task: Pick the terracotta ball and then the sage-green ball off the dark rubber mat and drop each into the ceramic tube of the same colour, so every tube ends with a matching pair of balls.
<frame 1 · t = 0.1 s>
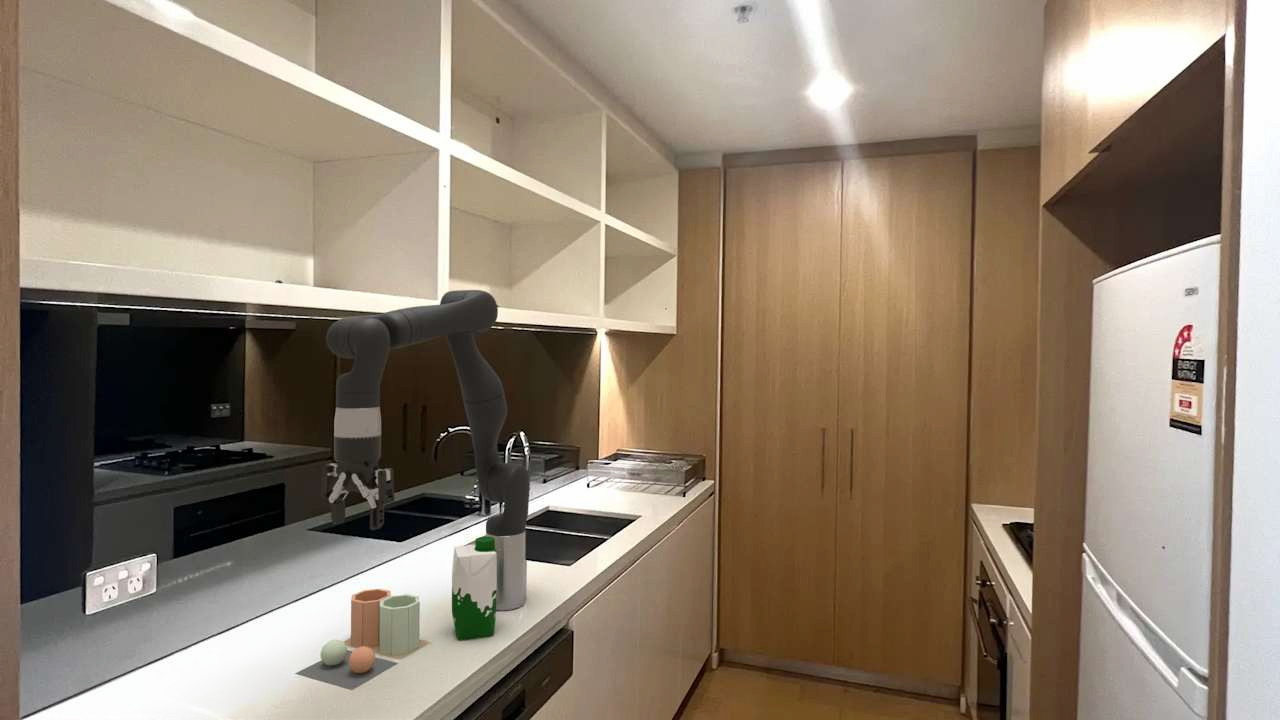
hand: (357, 526, 115), 29 cm above the countertop, tool pointing down, fingers open, 8 cm apart
mat: (347, 671, 123), on the countertop
ball rust: (361, 672, 121), point 1 cm above the countertop, touching mat
tubes: (384, 645, 133), on the countertop
ball sage: (333, 664, 124), point 1 cm above the countertop, touching mat
milk carton: (473, 635, 139), on the countertop
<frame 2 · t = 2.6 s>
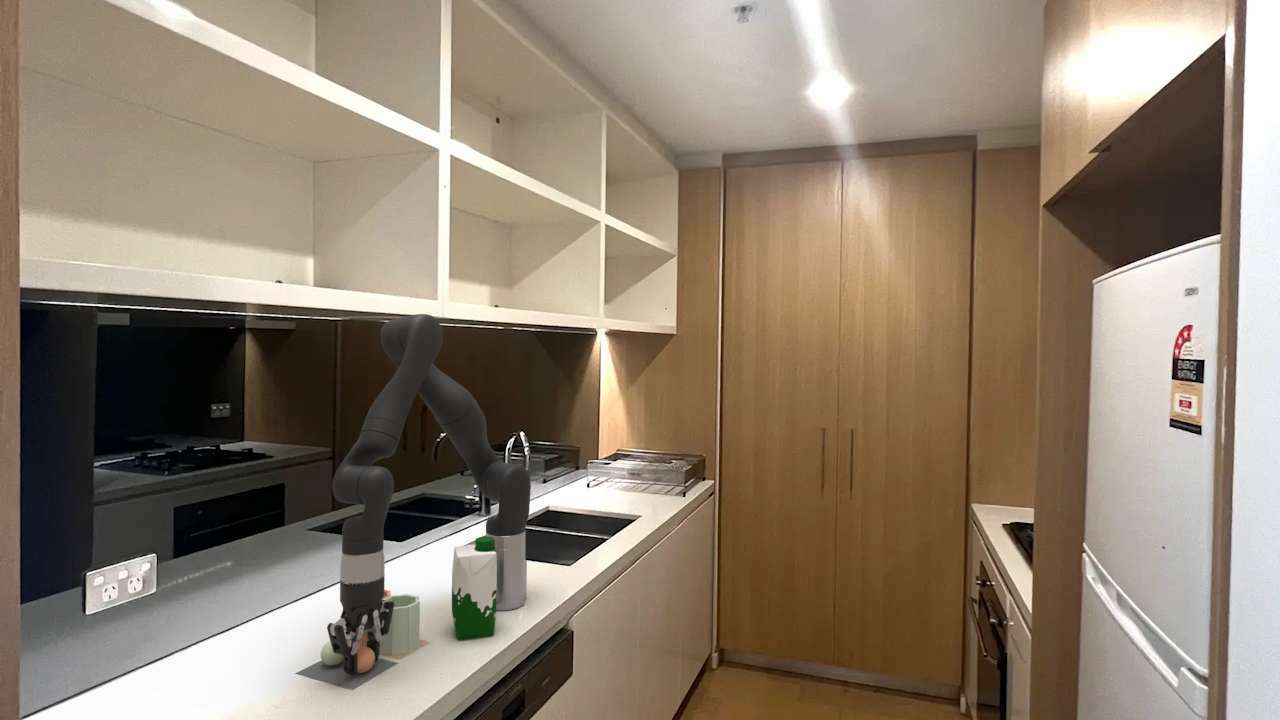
hand: (361, 666, 121), 2 cm above the countertop, tool pointing down, fingers closed on ball rust, 4 cm apart
ball rust: (361, 672, 121), point 1 cm above the countertop, touching gripper, mat
everything else where it was.
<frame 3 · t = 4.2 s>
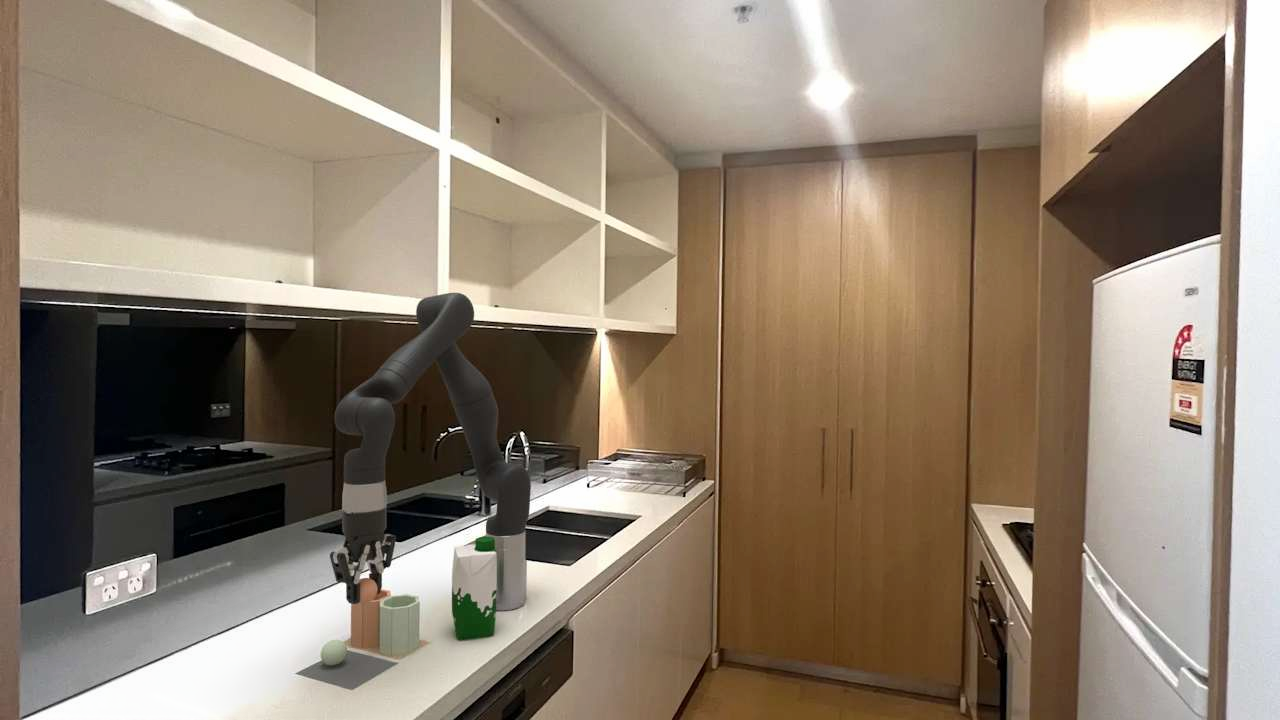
hand: (364, 597, 122), 14 cm above the countertop, tool pointing down, fingers closed on ball rust, 4 cm apart
ball rust: (364, 602, 122), point 13 cm above the countertop, touching gripper
everything else where it was.
when the fingers open (10 cm above the countertop, at t = 5.9 s): ball rust drops 3 cm and tips over, resting on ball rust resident, tubes.
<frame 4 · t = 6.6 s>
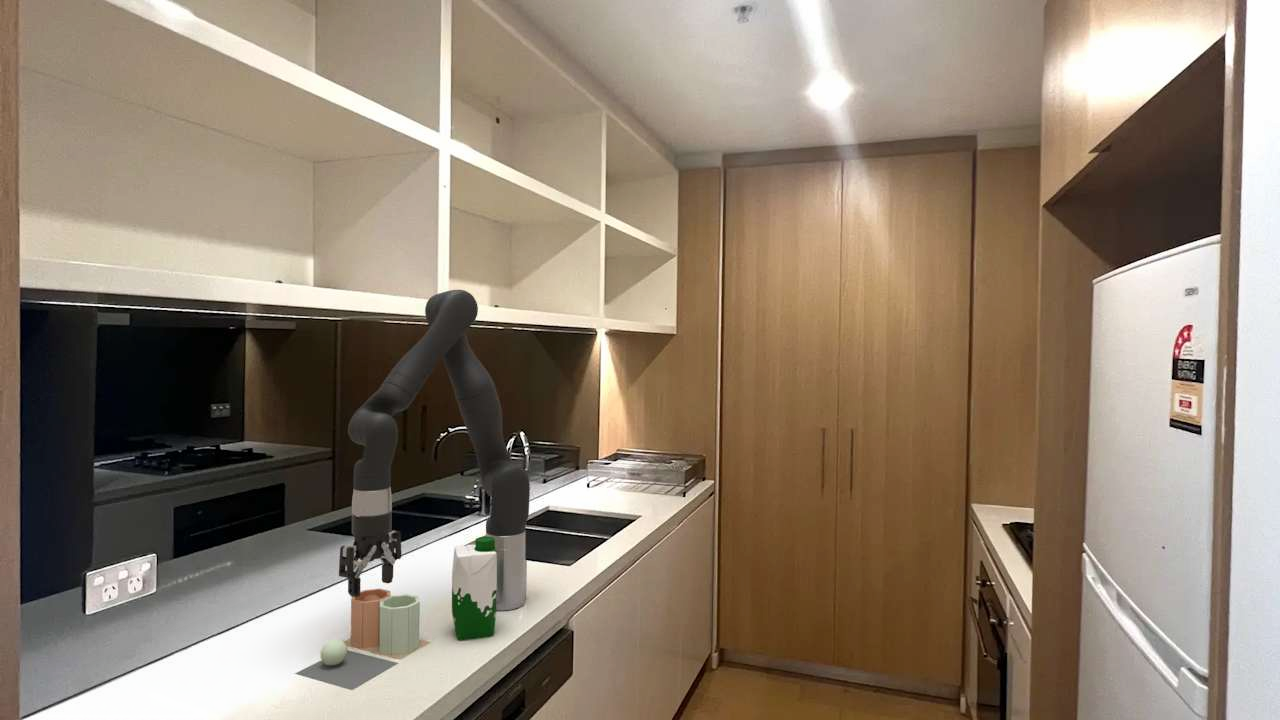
hand: (371, 589, 135), 11 cm above the countertop, tool pointing down, fingers open, 8 cm apart
ball rust: (371, 616, 134), point 6 cm above the countertop, tilted 56°, touching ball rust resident, tubes
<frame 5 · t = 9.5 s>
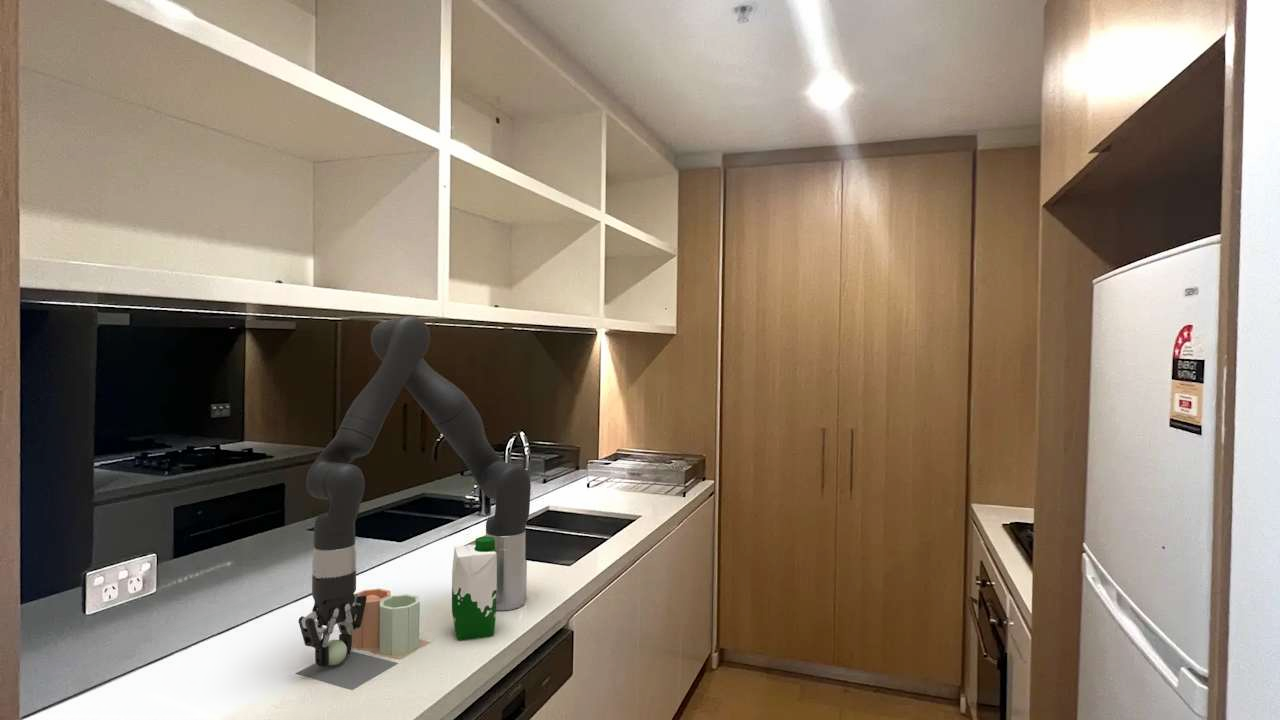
hand: (333, 659, 124), 2 cm above the countertop, tool pointing down, fingers closed on ball sage, 4 cm apart
ball sage: (333, 664, 124), point 1 cm above the countertop, touching gripper, mat
everything else where it was.
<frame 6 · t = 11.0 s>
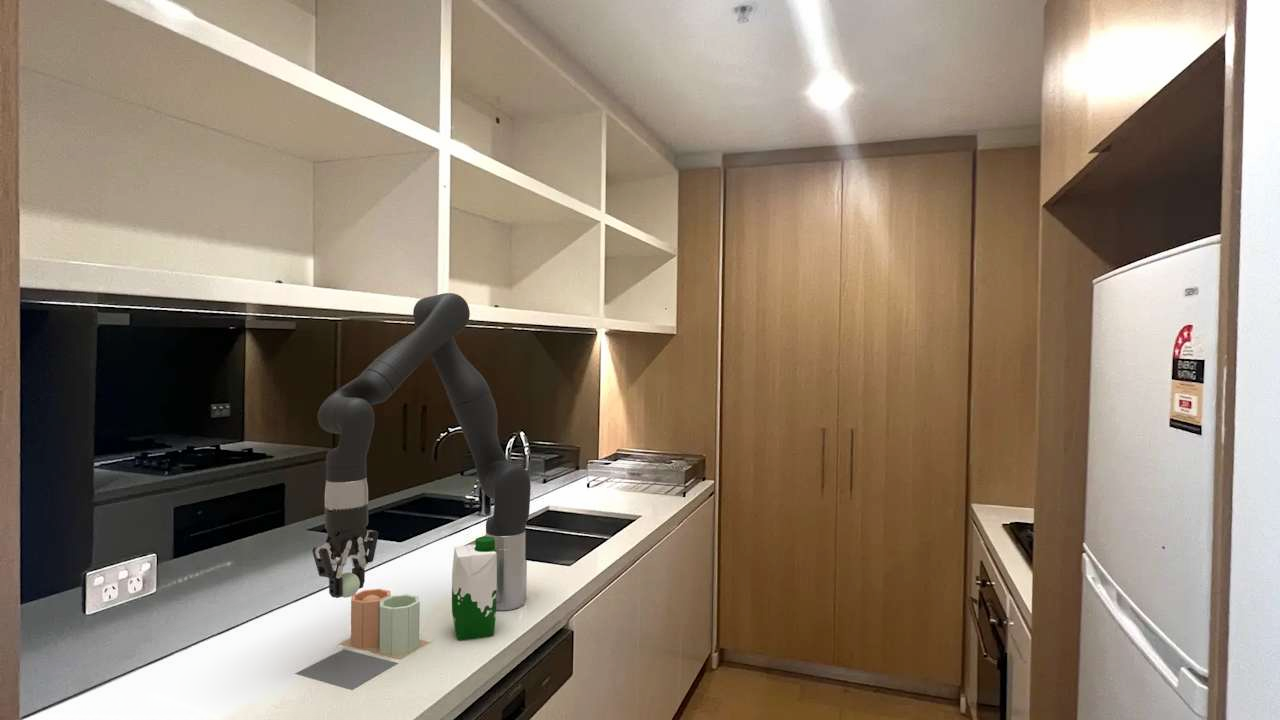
hand: (347, 591, 125), 14 cm above the countertop, tool pointing down, fingers closed on ball sage, 4 cm apart
ball sage: (347, 596, 125), point 13 cm above the countertop, touching gripper
everything else where it was.
when the fingers open (10 cm above the countertop, at t = 12.5 s): ball sage drops 3 cm and tips over, resting on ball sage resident, tubes.
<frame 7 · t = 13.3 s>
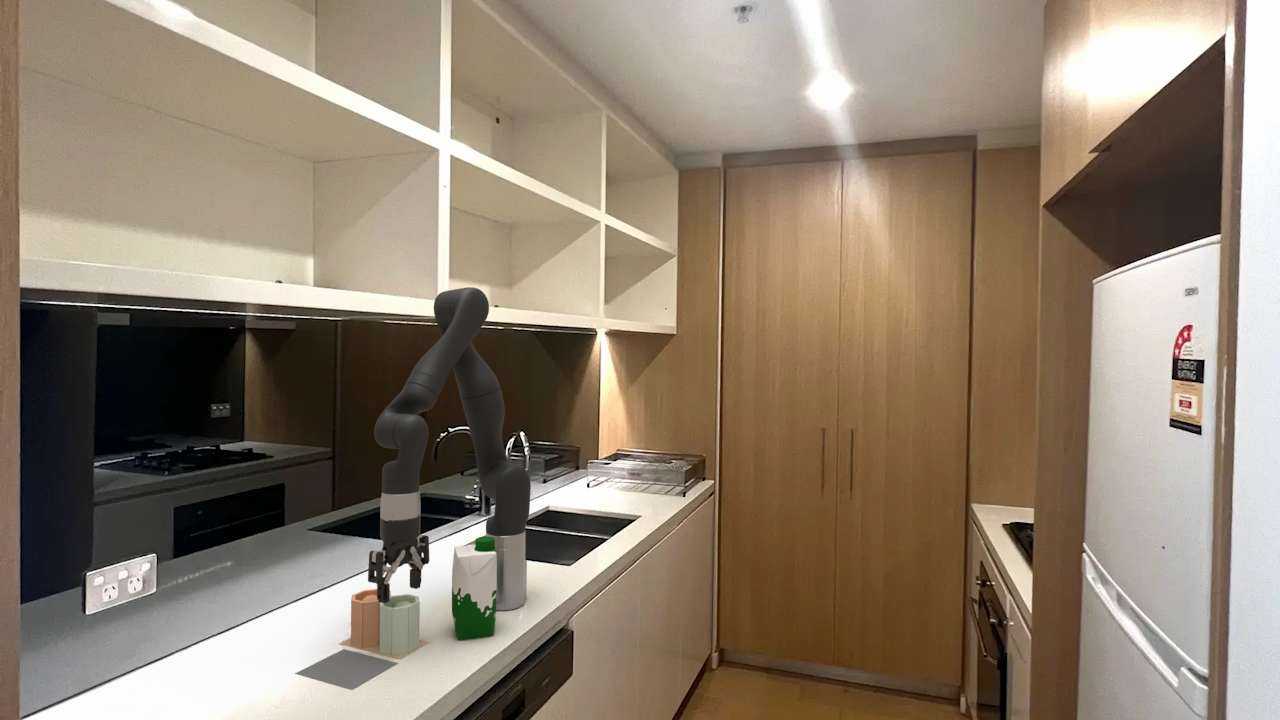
hand: (399, 594, 132), 11 cm above the countertop, tool pointing down, fingers open, 8 cm apart
ball sage: (395, 622, 131), point 6 cm above the countertop, tilted 57°, touching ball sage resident, tubes
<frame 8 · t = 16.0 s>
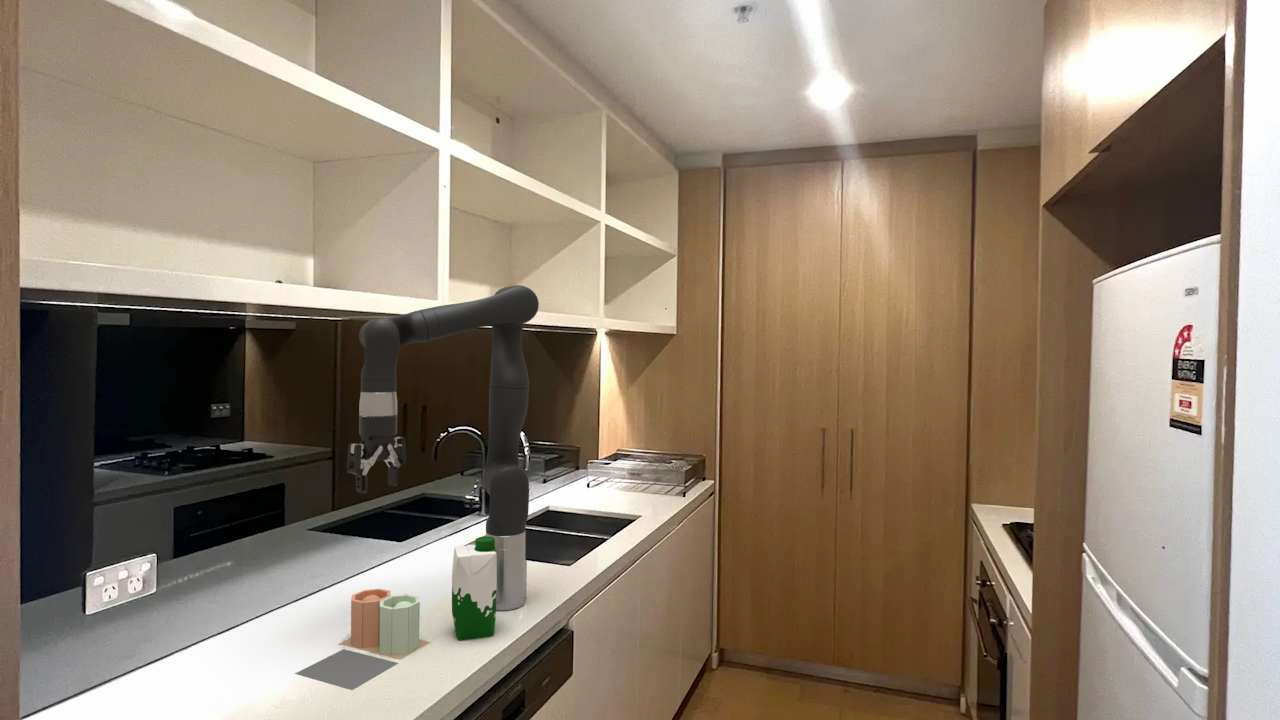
hand: (377, 489, 141), 30 cm above the countertop, tool pointing down, fingers open, 8 cm apart
nothing on the countertop moved.
at the end: ball rust 1.1 cm from the target spot, point 5.8 cm above the countertop; ball sage 1.1 cm from the target spot, point 5.9 cm above the countertop; the gripper is holding nothing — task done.
